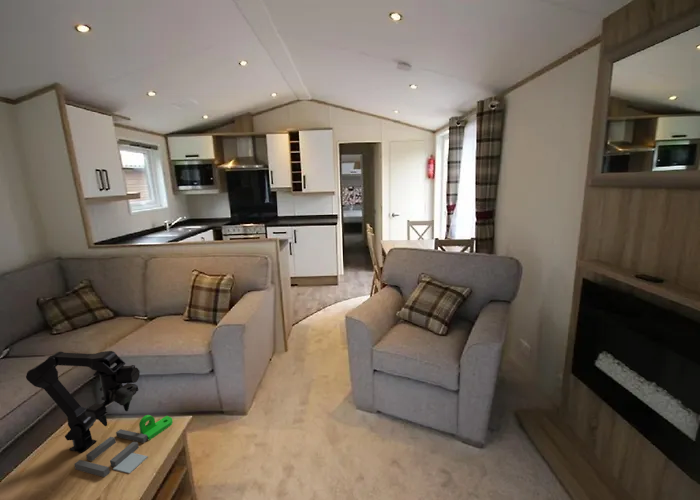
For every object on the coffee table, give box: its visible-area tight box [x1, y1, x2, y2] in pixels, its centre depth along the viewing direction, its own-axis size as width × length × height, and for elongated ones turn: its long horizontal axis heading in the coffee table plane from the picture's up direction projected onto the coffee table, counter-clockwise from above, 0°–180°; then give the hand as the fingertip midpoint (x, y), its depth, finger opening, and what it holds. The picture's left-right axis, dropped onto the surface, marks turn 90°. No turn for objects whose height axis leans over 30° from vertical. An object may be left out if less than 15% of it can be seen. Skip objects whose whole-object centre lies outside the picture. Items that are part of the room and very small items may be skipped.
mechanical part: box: [138, 414, 174, 441], centre depth 147 cm, size 12×6×8 cm, turn 152°
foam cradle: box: [73, 429, 149, 478], centre depth 134 cm, size 14×19×2 cm
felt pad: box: [112, 452, 149, 475], centre depth 129 cm, size 8×8×1 cm
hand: (116, 418), depth 137 cm, fingers open, 9 cm apart
